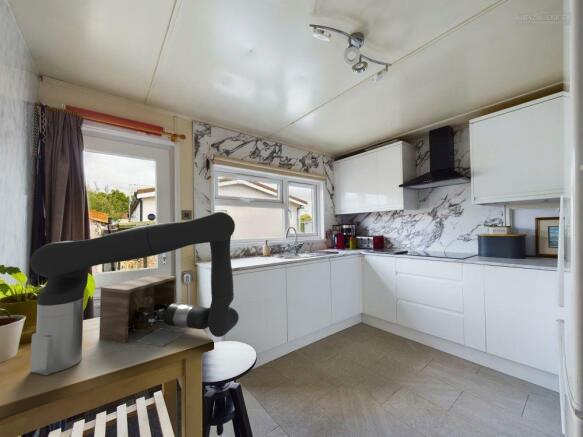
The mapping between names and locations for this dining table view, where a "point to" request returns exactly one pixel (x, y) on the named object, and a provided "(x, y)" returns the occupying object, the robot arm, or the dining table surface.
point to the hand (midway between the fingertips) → (145, 310)
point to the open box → (131, 303)
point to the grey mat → (161, 337)
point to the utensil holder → (136, 324)
